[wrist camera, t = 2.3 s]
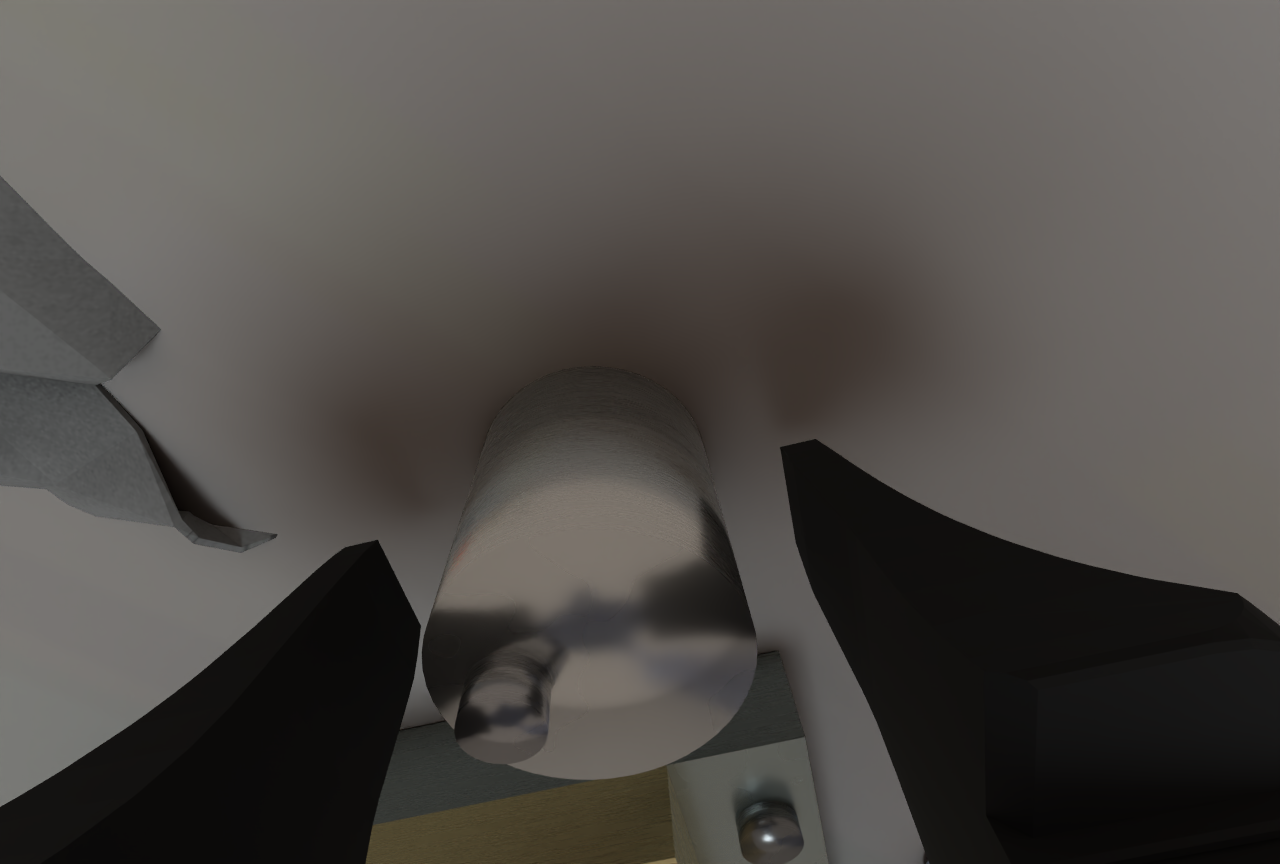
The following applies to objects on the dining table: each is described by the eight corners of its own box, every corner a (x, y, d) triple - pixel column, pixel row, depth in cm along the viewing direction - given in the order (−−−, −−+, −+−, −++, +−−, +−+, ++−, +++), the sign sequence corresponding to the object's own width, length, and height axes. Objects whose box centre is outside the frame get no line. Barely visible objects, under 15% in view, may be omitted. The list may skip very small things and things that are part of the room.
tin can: (679, 341, 14) (735, 528, 8) (723, 534, 16) (793, 792, 10) (449, 398, 14) (346, 616, 8) (522, 580, 16) (479, 855, 10)
